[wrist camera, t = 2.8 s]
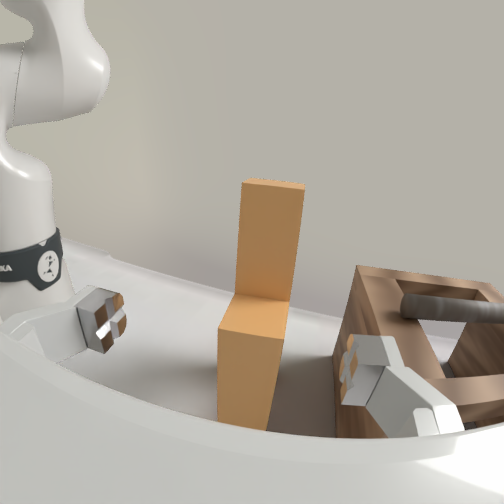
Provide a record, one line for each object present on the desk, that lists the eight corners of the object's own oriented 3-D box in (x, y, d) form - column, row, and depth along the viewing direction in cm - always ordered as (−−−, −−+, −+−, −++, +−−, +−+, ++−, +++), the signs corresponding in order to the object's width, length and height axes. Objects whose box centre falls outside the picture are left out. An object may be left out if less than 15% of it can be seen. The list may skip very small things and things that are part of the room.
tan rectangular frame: (334, 494, 17) (416, 383, 11) (332, 355, 35) (360, 248, 30) (499, 466, 14) (584, 361, 9) (455, 361, 33) (494, 269, 27)
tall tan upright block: (217, 444, 22) (222, 193, 14) (243, 363, 33) (259, 172, 25) (260, 452, 22) (304, 202, 14) (276, 369, 33) (304, 177, 25)
